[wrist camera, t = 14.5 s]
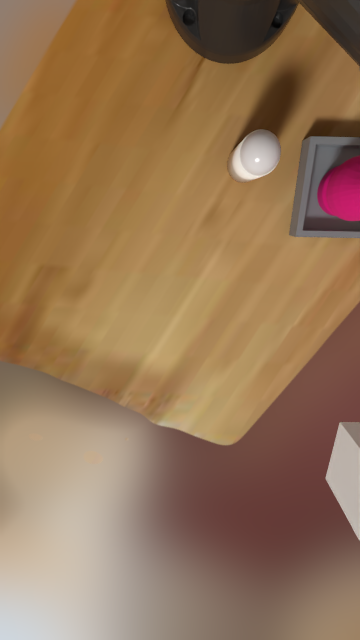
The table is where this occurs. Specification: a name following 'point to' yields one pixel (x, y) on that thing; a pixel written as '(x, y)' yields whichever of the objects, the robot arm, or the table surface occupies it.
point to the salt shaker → (254, 156)
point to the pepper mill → (341, 191)
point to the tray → (312, 168)
